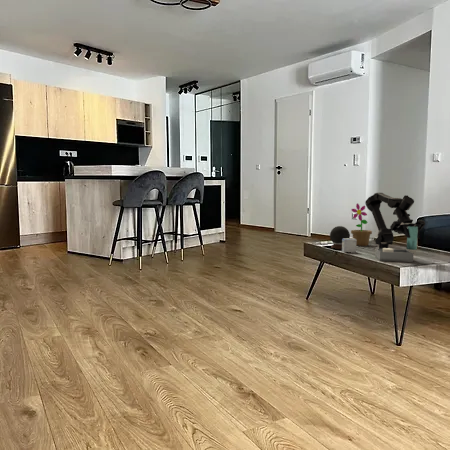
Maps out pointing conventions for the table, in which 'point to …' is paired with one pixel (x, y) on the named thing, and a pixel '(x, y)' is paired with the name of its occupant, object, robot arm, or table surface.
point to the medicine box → (349, 245)
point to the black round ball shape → (338, 236)
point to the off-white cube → (388, 250)
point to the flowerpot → (361, 235)
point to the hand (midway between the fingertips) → (413, 237)
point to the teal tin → (412, 238)
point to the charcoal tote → (394, 255)
